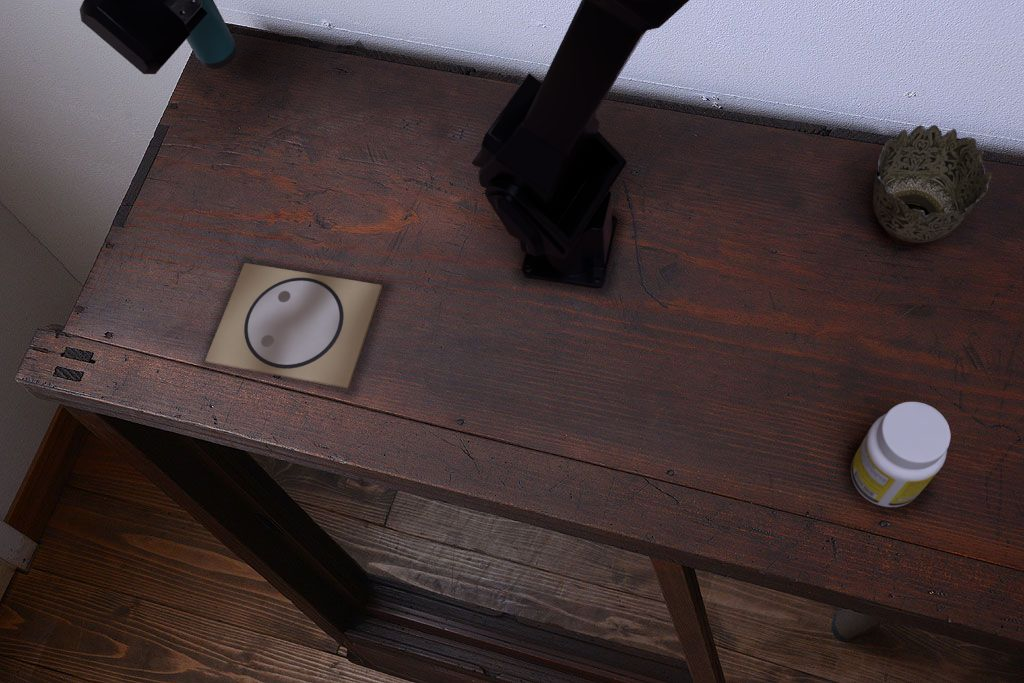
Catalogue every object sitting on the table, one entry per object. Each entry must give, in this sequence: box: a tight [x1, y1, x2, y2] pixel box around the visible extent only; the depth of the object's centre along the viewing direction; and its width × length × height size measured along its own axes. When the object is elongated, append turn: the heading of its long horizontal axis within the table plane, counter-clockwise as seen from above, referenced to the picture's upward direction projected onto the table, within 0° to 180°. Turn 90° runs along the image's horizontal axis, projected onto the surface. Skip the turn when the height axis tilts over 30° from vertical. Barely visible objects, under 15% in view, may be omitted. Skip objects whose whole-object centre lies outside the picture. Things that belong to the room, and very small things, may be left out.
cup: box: [872, 124, 993, 246], centre depth 71 cm, size 8×7×8 cm
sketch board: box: [204, 262, 383, 390], centre depth 77 cm, size 12×9×1 cm
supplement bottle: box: [850, 401, 952, 508], centre depth 63 cm, size 5×5×8 cm
